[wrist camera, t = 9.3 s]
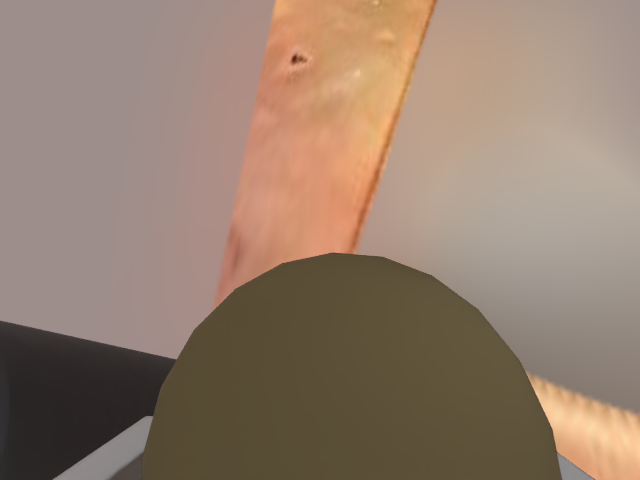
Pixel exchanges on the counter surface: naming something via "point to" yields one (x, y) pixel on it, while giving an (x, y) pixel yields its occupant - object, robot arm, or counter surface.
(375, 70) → the counter surface
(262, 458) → the cork
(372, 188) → the counter surface
